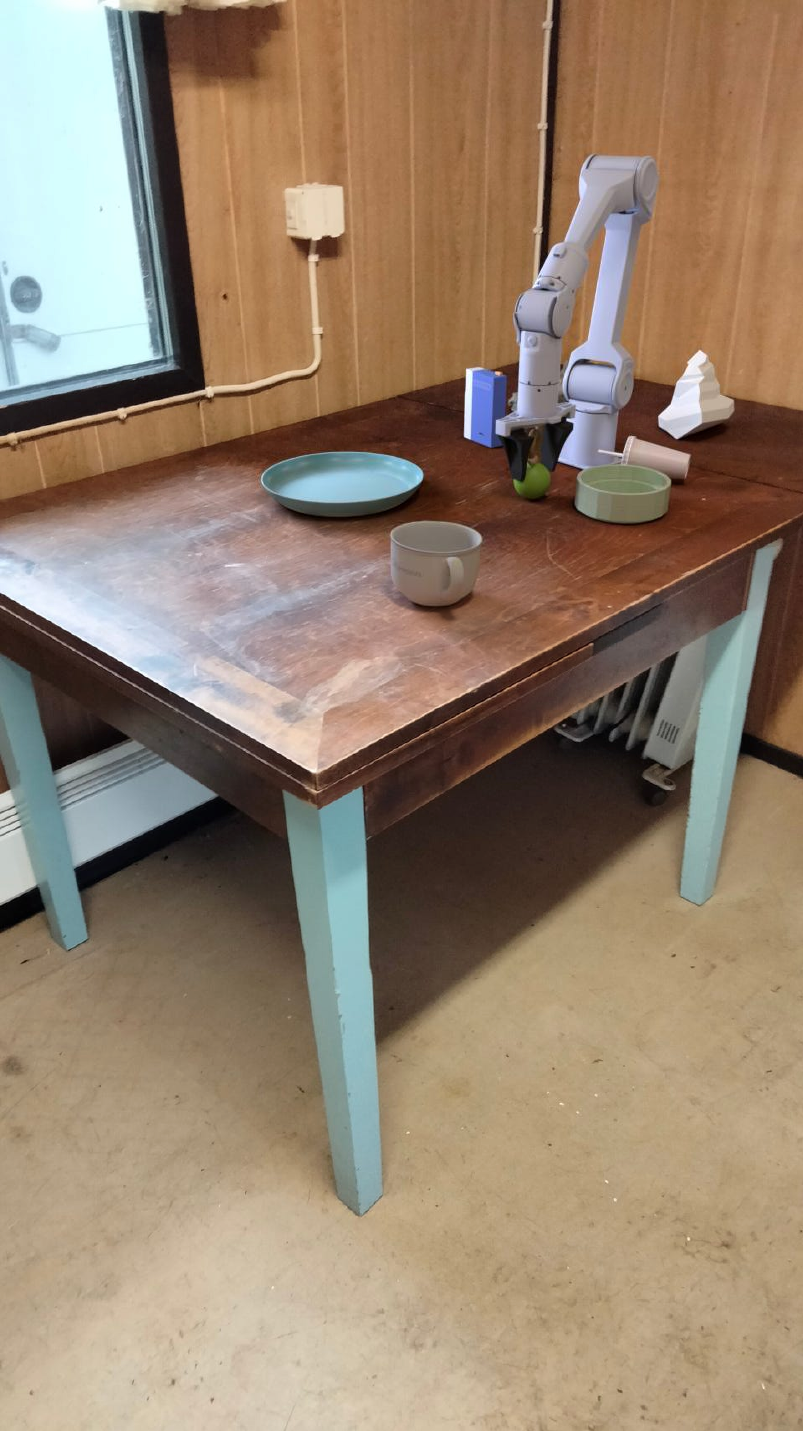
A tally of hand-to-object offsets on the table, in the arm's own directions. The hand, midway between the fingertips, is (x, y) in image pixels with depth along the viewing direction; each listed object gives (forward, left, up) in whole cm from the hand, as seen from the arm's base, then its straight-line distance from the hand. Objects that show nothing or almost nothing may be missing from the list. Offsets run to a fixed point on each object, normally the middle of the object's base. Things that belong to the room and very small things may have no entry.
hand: (533, 474), depth 153 cm
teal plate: (-19, -21, -4) cm, 29 cm away
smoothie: (+12, +22, -1) cm, 25 cm away
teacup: (+18, -35, -4) cm, 40 cm away
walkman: (-25, +14, -4) cm, 29 cm away
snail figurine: (0, 0, -4) cm, 4 cm away
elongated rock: (-36, +47, -4) cm, 59 cm away
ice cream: (-5, +46, -4) cm, 46 cm away
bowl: (+12, +6, -3) cm, 14 cm away
